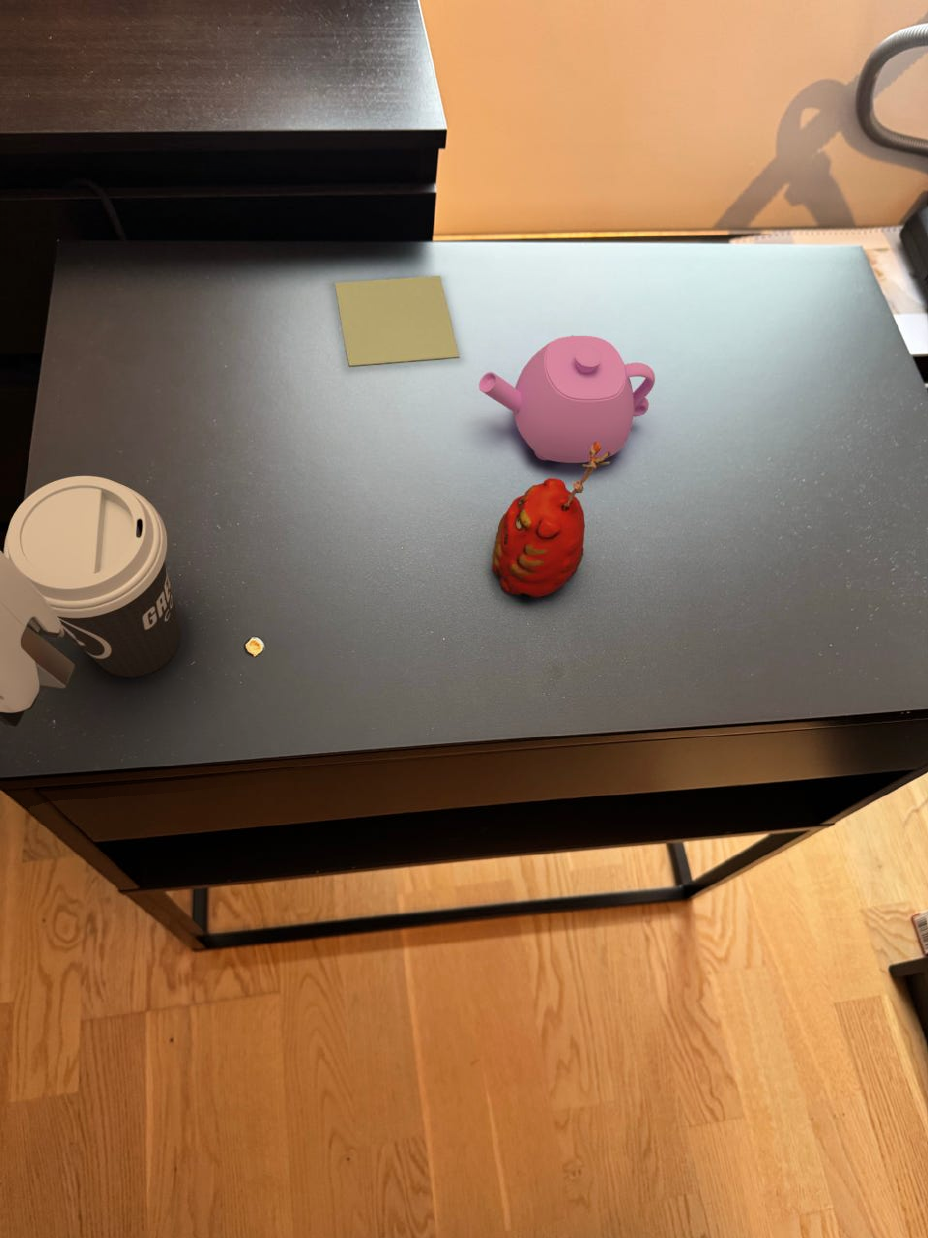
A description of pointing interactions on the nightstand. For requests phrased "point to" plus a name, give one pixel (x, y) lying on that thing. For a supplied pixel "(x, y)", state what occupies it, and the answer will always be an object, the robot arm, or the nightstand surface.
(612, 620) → the nightstand surface
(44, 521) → the coffee cup
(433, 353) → the mat
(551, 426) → the teapot
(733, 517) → the nightstand surface
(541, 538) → the red clay folk toy
